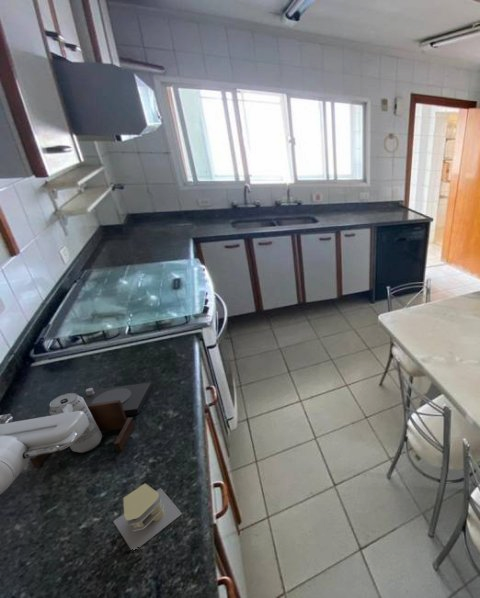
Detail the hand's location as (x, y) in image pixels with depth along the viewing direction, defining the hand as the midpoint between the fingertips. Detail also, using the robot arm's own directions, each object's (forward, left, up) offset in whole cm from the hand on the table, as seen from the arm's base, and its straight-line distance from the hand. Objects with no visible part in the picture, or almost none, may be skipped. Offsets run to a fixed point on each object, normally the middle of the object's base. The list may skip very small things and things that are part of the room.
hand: (38, 411), depth 67 cm
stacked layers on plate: (+19, -15, -20) cm, 31 cm away
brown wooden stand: (-1, +10, -20) cm, 23 cm away
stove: (-1, +25, -20) cm, 32 cm away
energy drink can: (-1, +10, -20) cm, 23 cm away
